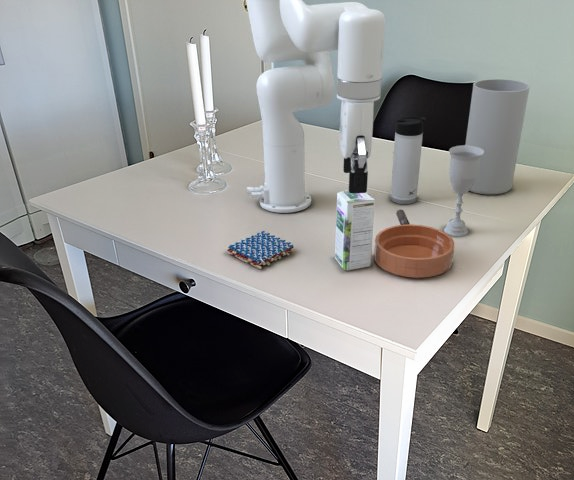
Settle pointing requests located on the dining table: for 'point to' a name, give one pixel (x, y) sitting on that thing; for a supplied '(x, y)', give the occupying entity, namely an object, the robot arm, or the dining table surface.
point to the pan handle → (402, 217)
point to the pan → (414, 250)
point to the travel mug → (406, 159)
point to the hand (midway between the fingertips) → (354, 182)
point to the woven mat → (260, 249)
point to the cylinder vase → (496, 131)
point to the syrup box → (354, 229)
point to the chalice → (462, 181)
